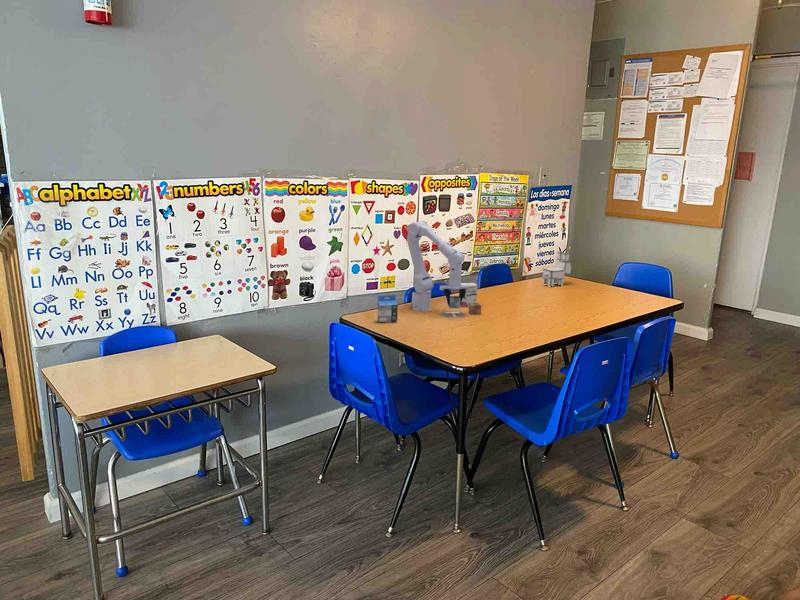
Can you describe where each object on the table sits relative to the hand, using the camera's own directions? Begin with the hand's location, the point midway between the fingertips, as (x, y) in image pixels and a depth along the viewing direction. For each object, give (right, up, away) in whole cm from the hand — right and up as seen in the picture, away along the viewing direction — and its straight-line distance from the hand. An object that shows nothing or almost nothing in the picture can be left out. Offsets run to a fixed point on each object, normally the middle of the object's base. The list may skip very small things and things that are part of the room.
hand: (454, 304), depth 291 cm
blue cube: (0, -1, 0) cm, 1 cm away
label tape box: (-32, -8, -13) cm, 36 cm away
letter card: (0, -5, +1) cm, 5 cm away
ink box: (+9, -1, +19) cm, 21 cm away
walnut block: (+11, -5, +4) cm, 12 cm away
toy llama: (+68, +11, +72) cm, 99 cm away
